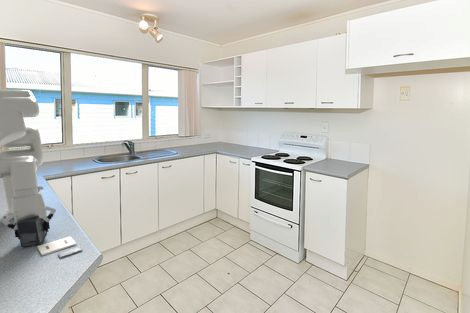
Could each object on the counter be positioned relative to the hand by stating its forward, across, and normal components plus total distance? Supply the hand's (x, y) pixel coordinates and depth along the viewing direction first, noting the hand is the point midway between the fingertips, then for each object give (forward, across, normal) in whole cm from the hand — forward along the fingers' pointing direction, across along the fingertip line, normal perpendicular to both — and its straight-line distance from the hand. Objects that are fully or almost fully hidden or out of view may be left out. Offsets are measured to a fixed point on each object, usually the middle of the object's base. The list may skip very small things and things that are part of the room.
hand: (33, 234), depth 107 cm
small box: (+3, 0, 0) cm, 3 cm away
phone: (+3, -8, +20) cm, 22 cm away
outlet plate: (+3, -5, +11) cm, 13 cm away
